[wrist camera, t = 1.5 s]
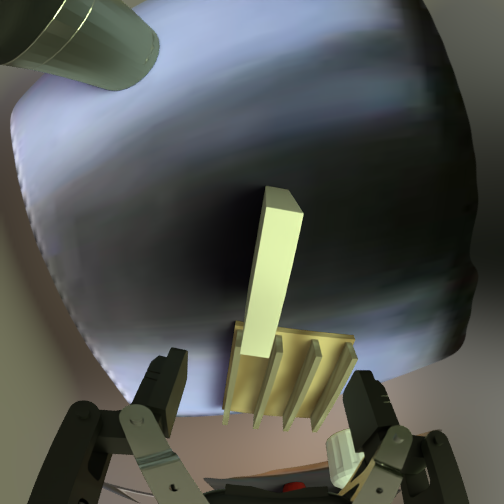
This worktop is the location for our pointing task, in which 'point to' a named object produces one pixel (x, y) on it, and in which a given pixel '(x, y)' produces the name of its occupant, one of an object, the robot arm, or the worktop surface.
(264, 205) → the pale green flat slab
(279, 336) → the dish rack
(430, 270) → the worktop surface
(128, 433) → the robot arm
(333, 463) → the soap bottle
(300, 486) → the plastic cup
